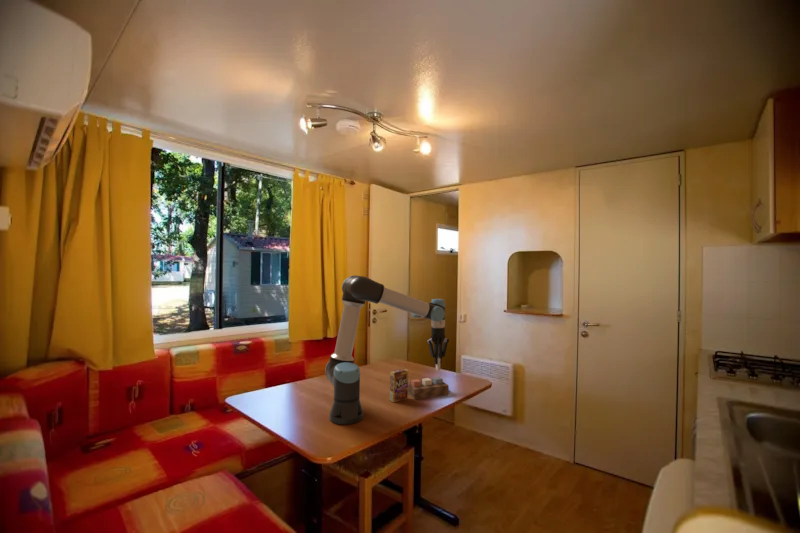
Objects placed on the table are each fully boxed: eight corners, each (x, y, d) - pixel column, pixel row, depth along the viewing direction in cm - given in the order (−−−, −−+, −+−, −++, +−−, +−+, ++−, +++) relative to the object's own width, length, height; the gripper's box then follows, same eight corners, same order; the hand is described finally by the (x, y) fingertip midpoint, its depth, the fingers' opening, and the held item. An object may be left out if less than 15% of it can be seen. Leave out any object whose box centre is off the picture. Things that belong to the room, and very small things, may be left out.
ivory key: (425, 388, 190) (425, 380, 190) (422, 385, 193) (422, 378, 193) (431, 387, 191) (431, 380, 191) (428, 385, 195) (428, 377, 195)
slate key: (436, 386, 192) (436, 379, 192) (432, 384, 196) (432, 377, 196) (442, 386, 193) (442, 378, 193) (439, 383, 197) (439, 376, 197)
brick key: (414, 389, 187) (414, 382, 187) (411, 387, 191) (411, 379, 191) (420, 388, 189) (421, 381, 189) (417, 386, 192) (417, 379, 192)
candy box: (393, 403, 178) (393, 372, 178) (389, 400, 181) (389, 370, 181) (408, 399, 182) (408, 370, 183) (403, 397, 186) (403, 368, 186)
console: (414, 399, 183) (414, 389, 183) (405, 391, 194) (405, 382, 194) (448, 394, 190) (448, 385, 190) (438, 387, 201) (438, 378, 201)
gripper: (430, 328, 189) (430, 372, 189) (451, 327, 194) (451, 370, 193) (424, 326, 196) (424, 369, 196) (445, 325, 201) (445, 366, 200)
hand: (437, 369), depth 195 cm, fingers closed
